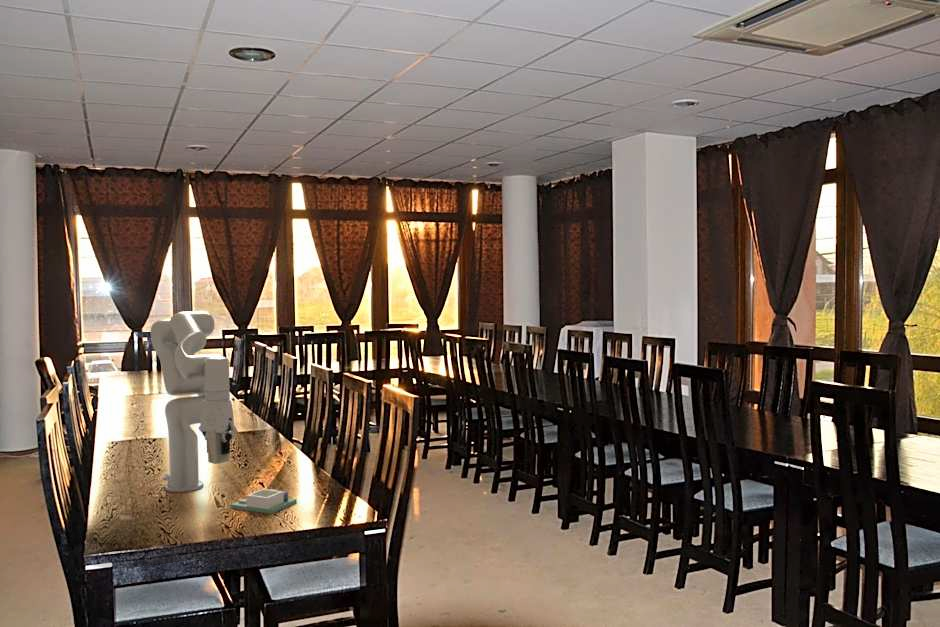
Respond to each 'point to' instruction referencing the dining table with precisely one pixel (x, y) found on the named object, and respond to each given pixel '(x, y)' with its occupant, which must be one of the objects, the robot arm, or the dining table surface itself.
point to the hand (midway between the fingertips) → (218, 452)
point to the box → (215, 448)
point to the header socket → (265, 498)
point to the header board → (243, 506)
